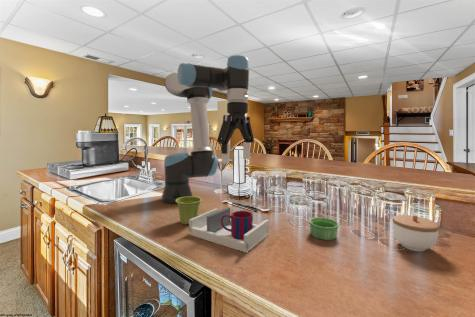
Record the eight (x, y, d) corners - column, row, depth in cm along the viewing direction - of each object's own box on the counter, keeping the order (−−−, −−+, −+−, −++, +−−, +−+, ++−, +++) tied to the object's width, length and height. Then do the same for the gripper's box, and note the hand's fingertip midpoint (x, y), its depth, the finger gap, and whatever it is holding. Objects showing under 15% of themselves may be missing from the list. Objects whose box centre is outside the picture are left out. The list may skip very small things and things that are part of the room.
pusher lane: (189, 234, 76) (188, 219, 76) (215, 221, 88) (215, 208, 87) (246, 253, 64) (246, 235, 64) (268, 234, 76) (268, 220, 75)
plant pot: (192, 215, 94) (192, 194, 93) (206, 222, 87) (206, 199, 86) (171, 221, 87) (170, 199, 86) (185, 229, 80) (184, 204, 80)
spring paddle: (206, 233, 74) (206, 216, 73) (227, 222, 83) (227, 207, 82) (209, 234, 73) (209, 217, 72) (230, 223, 82) (230, 207, 82)
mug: (250, 241, 69) (250, 218, 68) (218, 237, 72) (218, 215, 71) (254, 231, 76) (254, 211, 75) (225, 228, 78) (225, 209, 78)
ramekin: (305, 229, 81) (306, 217, 80) (331, 229, 80) (332, 217, 80) (313, 241, 72) (314, 227, 71) (342, 241, 71) (343, 227, 71)
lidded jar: (447, 255, 63) (450, 221, 62) (410, 256, 62) (413, 223, 61) (414, 237, 74) (416, 209, 73) (382, 238, 73) (384, 210, 72)
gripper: (224, 97, 71) (224, 166, 73) (263, 105, 91) (261, 158, 94) (206, 98, 75) (206, 163, 77) (247, 105, 95) (246, 157, 98)
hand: (236, 161), depth 86 cm, fingers open, 13 cm apart
